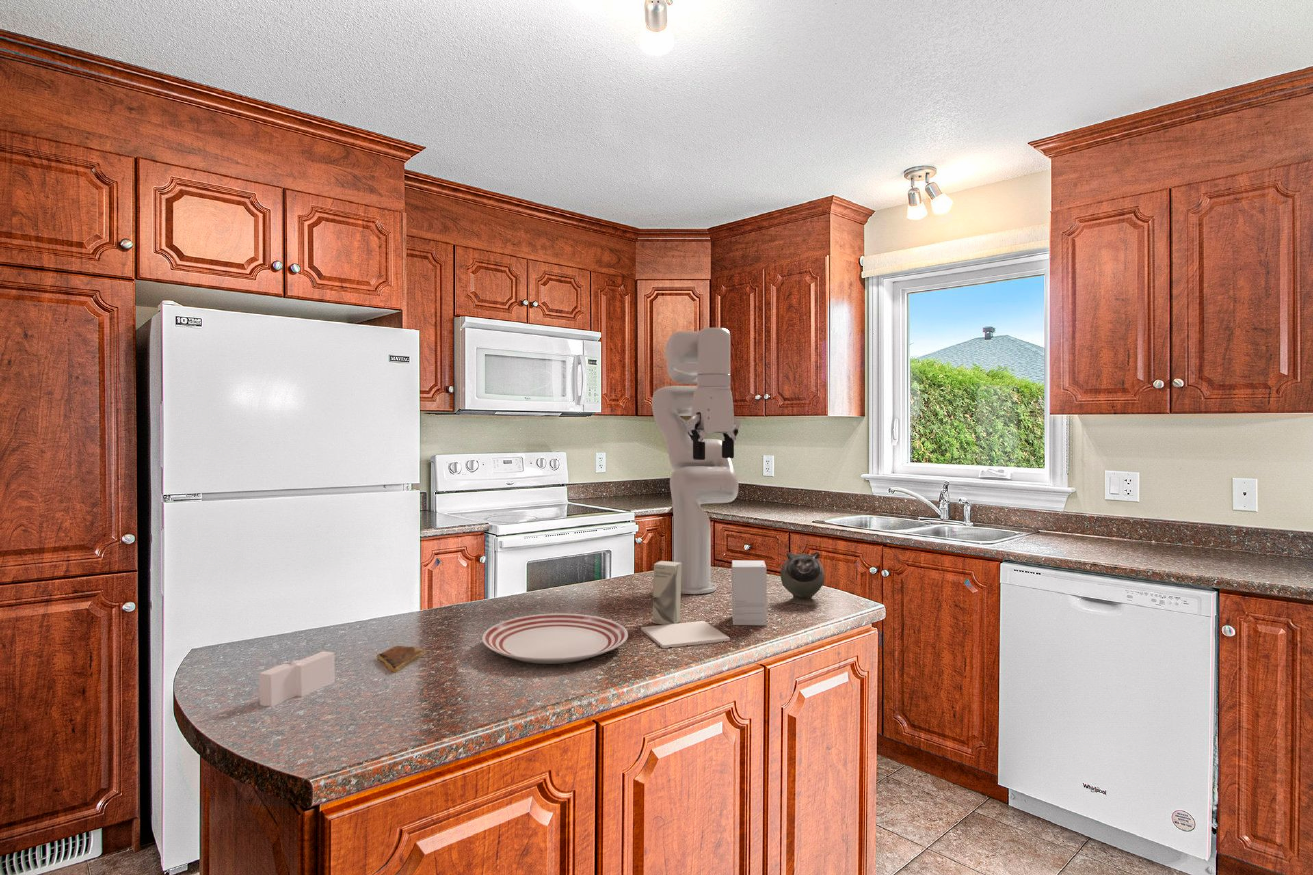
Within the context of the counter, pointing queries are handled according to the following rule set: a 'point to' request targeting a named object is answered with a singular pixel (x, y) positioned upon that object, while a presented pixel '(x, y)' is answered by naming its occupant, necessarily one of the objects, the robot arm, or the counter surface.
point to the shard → (400, 657)
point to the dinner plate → (554, 637)
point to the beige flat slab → (684, 634)
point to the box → (666, 592)
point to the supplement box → (749, 592)
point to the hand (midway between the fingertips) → (713, 458)
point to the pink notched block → (296, 678)
